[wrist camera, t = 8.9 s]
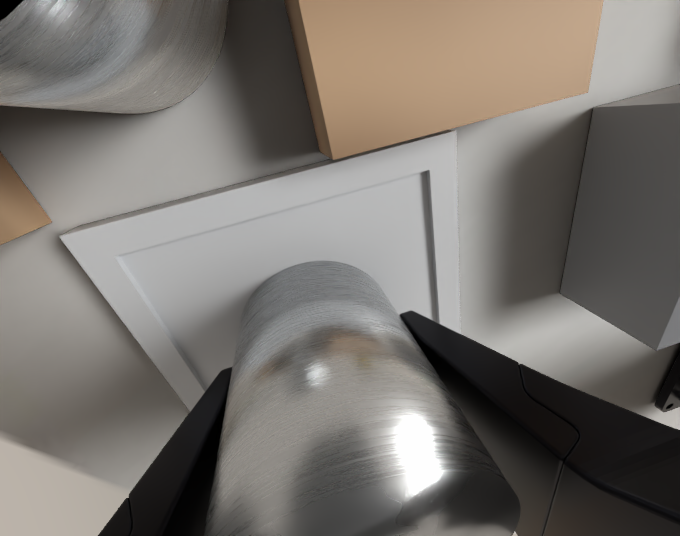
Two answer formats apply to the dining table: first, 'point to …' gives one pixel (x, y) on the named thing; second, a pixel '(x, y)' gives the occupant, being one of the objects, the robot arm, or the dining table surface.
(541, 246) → the dining table surface
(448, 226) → the tray
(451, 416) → the loose steel billet
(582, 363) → the dining table surface
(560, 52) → the frame
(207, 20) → the seated steel billet
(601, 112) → the button housing
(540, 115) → the dining table surface
